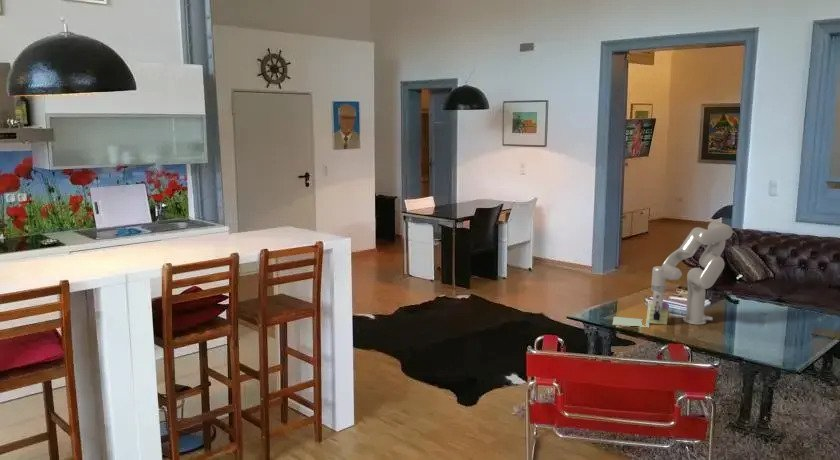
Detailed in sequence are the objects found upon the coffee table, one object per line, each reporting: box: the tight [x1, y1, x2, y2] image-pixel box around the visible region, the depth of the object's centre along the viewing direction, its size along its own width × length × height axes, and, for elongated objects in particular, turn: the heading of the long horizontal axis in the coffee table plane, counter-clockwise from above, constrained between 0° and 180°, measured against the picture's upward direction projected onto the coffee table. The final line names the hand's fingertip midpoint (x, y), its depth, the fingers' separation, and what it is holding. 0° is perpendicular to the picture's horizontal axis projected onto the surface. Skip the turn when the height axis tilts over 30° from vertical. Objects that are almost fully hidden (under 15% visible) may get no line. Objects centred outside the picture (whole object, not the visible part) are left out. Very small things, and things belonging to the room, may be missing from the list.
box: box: [646, 300, 670, 326], centre depth 387 cm, size 10×6×12 cm, turn 84°
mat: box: [612, 316, 650, 329], centre depth 389 cm, size 20×14×1 cm
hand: (656, 317), depth 387 cm, fingers closed on box, 6 cm apart
